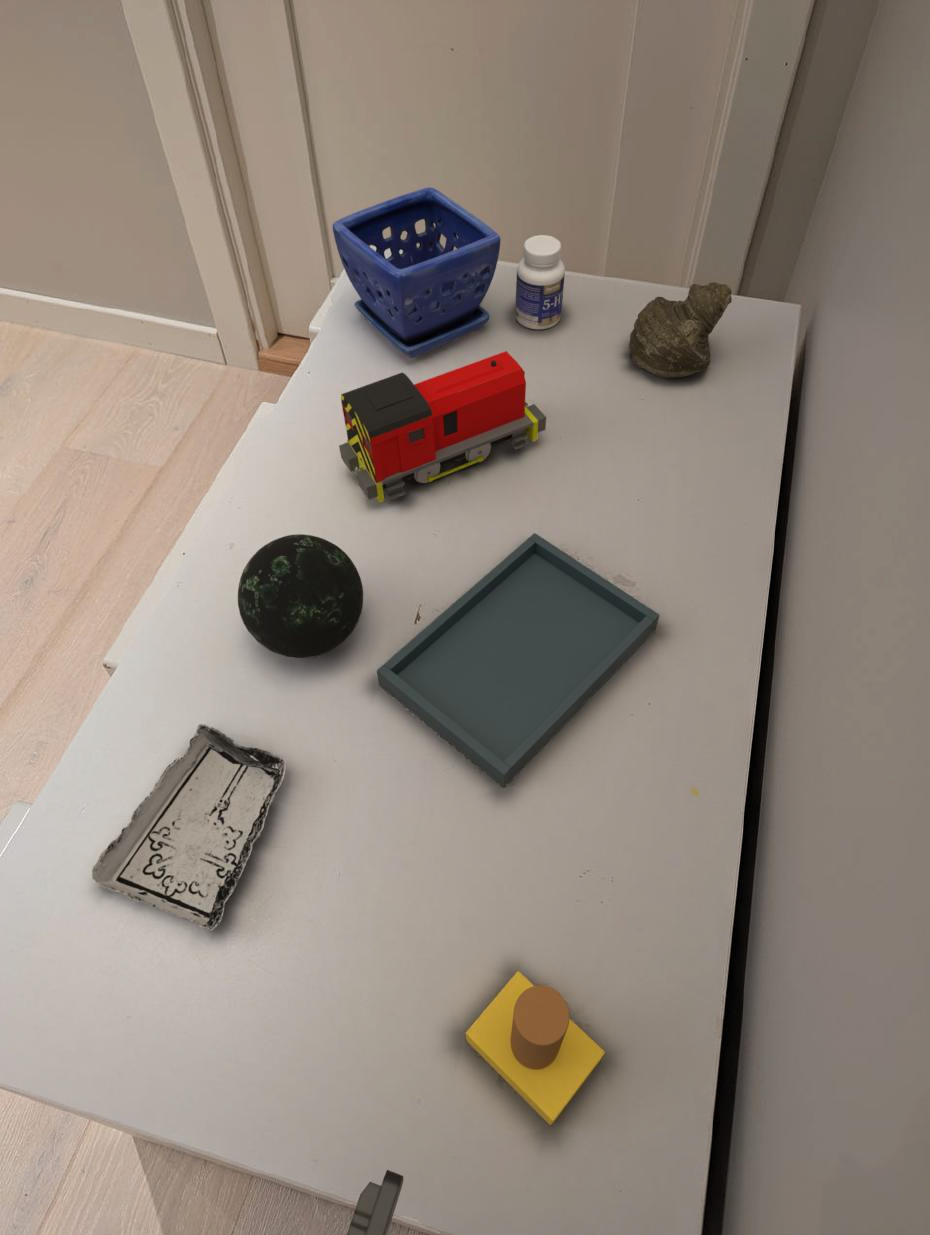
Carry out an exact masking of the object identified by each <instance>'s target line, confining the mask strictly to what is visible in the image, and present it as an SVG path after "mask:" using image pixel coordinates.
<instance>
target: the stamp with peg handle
mask: <svg viewBox="0 0 930 1235" xmlns="http://www.w3.org/2000/svg"><path fill="white" fill-rule="evenodd" d="M465 1040H466V1042H467V1043H468V1044H469V1045H470V1046H471V1047H472V1048H473V1049H474V1051H476V1052H477V1053H478V1054H479V1055H480V1056H481V1057H482V1058H483V1060H484V1061H486V1062H487V1063H488V1065H490V1066H491V1068H493V1069H494V1071H495V1072H497V1073H498V1074H499V1076H501V1078H502V1079H504V1080H505V1082H506V1083H507V1084H508V1085H510V1087H511V1088H512V1089H513V1090H515V1092H516V1093H517V1094H518V1095H519V1096H520V1097H521V1098H522V1099H523V1100H524V1101H525V1102H526V1103H527V1104H528V1105H529V1106H530V1107H531V1108H532V1109H533V1110H534V1111H535V1112H536V1113H537V1114H538V1115H539V1116H540V1117H541V1118H542V1119H543V1120H544V1121H545V1122H546V1123H547V1124H548V1125H549V1126H552V1125H553V1124H554V1123H555V1122H556V1120H557V1119H558V1117H559V1116H560V1115H561V1114H562V1113H563V1111H564V1109H565V1108H566V1107H567V1106H568V1104H569V1103H570V1101H571V1100H572V1099H573V1097H574V1096H575V1095H576V1094H577V1092H578V1091H579V1089H580V1088H581V1087H582V1085H583V1084H584V1083H585V1082H586V1080H587V1079H588V1077H589V1076H590V1075H591V1073H592V1072H593V1071H594V1069H596V1067H597V1065H598V1064H599V1063H600V1061H601V1060H602V1059H603V1057H604V1055H605V1054H606V1051H605V1050H604V1049H603V1048H602V1047H601V1046H600V1045H598V1043H597V1042H595V1040H593V1039H592V1038H591V1037H590V1036H589V1035H588V1033H586V1032H585V1031H584V1030H583V1029H582V1028H580V1027H579V1026H578V1025H577V1024H576V1023H575V1022H574V1021H573V1020H572V1019H571V1018H570V1009H569V1005H568V1003H567V1001H566V1000H565V998H564V997H563V995H562V994H561V993H560V992H559V991H558V990H556V989H554V988H553V987H550V986H548V985H543V984H541V985H540V984H539V985H535V984H533V983H532V982H531V981H530V980H529V979H528V978H527V977H526V976H525V975H524V974H523V973H522V972H521V971H520V970H518V971H516V972H515V973H514V975H512V977H511V978H510V979H509V981H508V982H507V983H506V984H505V985H504V986H503V988H502V989H501V990H500V991H499V992H498V993H497V995H496V996H495V998H493V1000H492V1001H491V1002H490V1003H489V1004H488V1006H486V1007H485V1009H484V1010H483V1011H482V1012H481V1014H480V1015H479V1016H478V1017H477V1018H476V1019H475V1021H474V1022H473V1023H472V1025H471V1026H470V1027H469V1028H468V1029H467V1030H466V1032H465Z"/></svg>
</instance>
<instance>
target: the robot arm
mask: <svg viewBox="0 0 930 1235" xmlns="http://www.w3.org/2000/svg"><path fill="white" fill-rule="evenodd" d="M403 1184H404V1175H403V1174H400V1173H397V1172H395V1171H393V1170H389V1169H386V1171H385V1174H384V1176H383V1179H382V1182H381V1185H380V1184H377V1183H375V1182H372V1181H369V1182H368V1183H367V1185H366V1186H365V1188H364V1189H363V1190H362V1191H361V1193H359V1194H360V1195H359V1197H358V1201H357V1203H356V1206H355V1209H354V1213H353V1215H352V1218H351V1221H350V1224H349V1226H348V1230H347V1233H346V1235H388V1233H389V1229H390V1226H391V1223H392V1221H393V1217H394V1213H395V1210H396V1207H397V1204H398V1201H399V1198H400V1194H401V1191H402V1188H403Z"/></svg>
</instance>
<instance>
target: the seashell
mask: <svg viewBox="0 0 930 1235" xmlns="http://www.w3.org/2000/svg"><path fill="white" fill-rule="evenodd" d="M732 293H733V292H732V288H731V287H730V286H729V285H727V284H724V283H718V282H714V281H713V282H709V283H707V284H705V285H701V284H698V283H692V284H691V285H689V290H688V292H687V294H688V295H687V296H686V298H685V299H684V300H683V301H682V300H678V301H676V300H669V299H666V298H665V297H663V296H655V298H654V299H652V300H651V301H649V302H648V303H646V305H645V307H643V308H642V310H641V311H640V312H639V313H638V314H637V318H636V319H635V321H634V324H633V329H632V331H631V332H630V335H629V343H628V347H629V351H630V358H631V361H632V362H633V363H634V365H635V366H636V367H637V368H642V369H644V370H646V371H647V372H649V373H651V374H653V375H654V376H657V377H659V378H663V379H669V378H677V379H678V378H684V377H689V376H691V375H695V374H697V373H700V372H701V373H702V372H704V371H705V370H706V369H708V368H709V367H710V363H711V359H710V358H711V352H710V351H711V350H710V343H709V335H711V333H712V332H713V330H714V329H715V326H716V325H717V324H718V322H719V321H720V320H721V318H722V317H723V315H724V313H725V311H726V309H727V308H728V306H729V305H730V304H731V303H732V301H733V300H732V298H733V297H732Z"/></svg>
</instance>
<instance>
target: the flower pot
mask: <svg viewBox="0 0 930 1235" xmlns="http://www.w3.org/2000/svg"><path fill="white" fill-rule="evenodd" d="M423 220H424V227H425V230H424V231H422V232H419V233H417V230H416V224H417V223H418V222H419V221H423ZM388 228H389V230H390V236H388V237H386V238H384V233H383V232H384V231H385V230H386V229H388ZM332 232H333V233H332V234H333V237H334V242H335V245H336V249H337V252H338V256H339V258H340V261H341V264H342V266H343V269H344V271H345V273H346V276H347V278H348V279H349V282H350V283H351V285H352V287H353V288H354V290H355V292H356V293H357V295H358V297H359V298H360V299H359V300H356V301H355V302H354V307H355V309H356V310H357V311H358V312H359V314H361V316H362V317H364V319H365V320H367V321H368V323H370V324H371V325H372V326H373V327H374V328H375V329H376V330H377V331H378V332H380V333H381V335H383V336H384V337H385V338H386V339H387V340H388V341H389V342H390V343H392V345H394V347H395V348H397V349H398V350H399V351H400V352H401V353H402V354H404V355H405V356H406V357H408V358H410V359H412V358H415V357H418V356H421V355H423V354H424V353H428V352H430V351H432V350H435V349H437V348H439V347H442V346H444V345H446V344H449V343H451V342H453V341H455V340H458V339H460V338H462V337H464V336H466V335H468V334H470V333H472V332H475V331H477V330H479V329H480V328H482V327H483V326H484V325H486V323H487V322H488V321H489V320H490V317H491V315H490V313H489V312H488V311H487V310H486V309H485V308H483V307H482V305H481V304H482V302H483V300H484V299H485V297H486V295H487V293H488V291H489V289H490V286H491V284H492V282H493V278H494V276H495V272H496V270H497V266H498V262H499V257H500V256H499V255H500V249H501V236H500V234H499V233H497V231H495V230H494V229H493V228H492V227H491V226H489V225H487V224H486V223H485V222H484V221H483V220H481V219H480V218H478V217H477V216H476V215H474V214H473V213H471V212H470V211H468V210H467V209H466V208H464V207H463V206H462V205H460V204H459V203H457V202H455V201H454V200H453V199H452V198H451V197H449V196H447V195H445V193H443V192H441V191H440V190H438V189H436V188H434V187H430V186H429V187H424V188H421V189H417V190H415V191H411V192H408V193H404V194H402V195H399V196H396V197H394V198H391V199H388V200H385V201H382V202H380V203H377V204H373V205H372V206H367V207H366V208H364V209H361V210H358V211H355V212H353V213H351V214H348V215H346V216H344V217H341V218H340V219H338V220H335V221H334V222H333V224H332ZM403 232H406V237H405V239H402V235H403ZM442 236H443V237H444V238H445V244H444V246H443V245H442V244H441V237H442ZM418 244H419V245H418ZM417 245H418V246H417ZM371 246H372V247H375V249H373V248H372V247H371ZM387 250H389V251H390V256H388V257H386V255H385V252H386V251H387ZM400 251H402V252H401V253H400Z"/></svg>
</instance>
